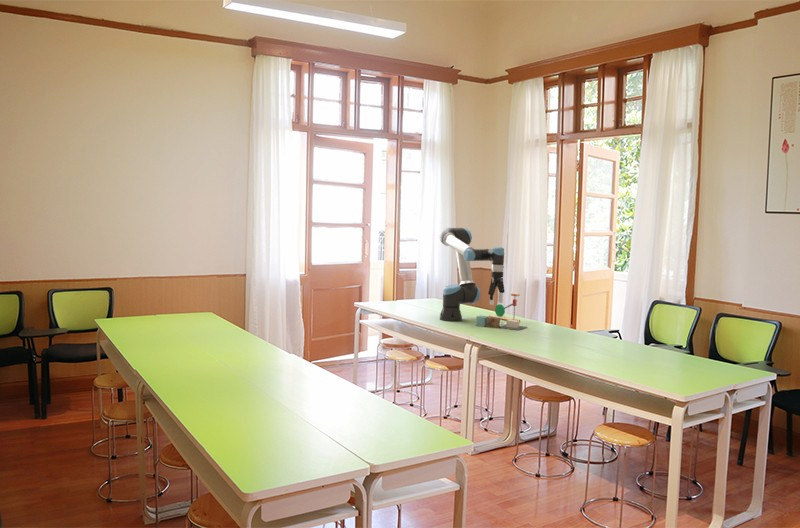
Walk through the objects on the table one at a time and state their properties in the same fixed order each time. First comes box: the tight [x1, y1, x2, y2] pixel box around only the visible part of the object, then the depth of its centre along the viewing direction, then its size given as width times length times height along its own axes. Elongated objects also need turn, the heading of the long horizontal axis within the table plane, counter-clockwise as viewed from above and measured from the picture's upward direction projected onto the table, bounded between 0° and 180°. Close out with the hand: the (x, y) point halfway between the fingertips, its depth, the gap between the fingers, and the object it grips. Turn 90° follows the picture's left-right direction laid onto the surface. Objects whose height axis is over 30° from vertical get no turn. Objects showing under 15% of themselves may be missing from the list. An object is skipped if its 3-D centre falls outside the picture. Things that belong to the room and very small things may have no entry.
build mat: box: [497, 320, 528, 331], centre depth 427 cm, size 14×14×4 cm
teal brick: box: [475, 315, 489, 327], centre depth 433 cm, size 6×6×6 cm
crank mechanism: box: [488, 292, 521, 322], centre depth 458 cm, size 25×7×19 cm, turn 38°
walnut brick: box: [486, 317, 501, 329], centre depth 428 cm, size 6×5×6 cm
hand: (496, 303), depth 428 cm, fingers open, 13 cm apart
